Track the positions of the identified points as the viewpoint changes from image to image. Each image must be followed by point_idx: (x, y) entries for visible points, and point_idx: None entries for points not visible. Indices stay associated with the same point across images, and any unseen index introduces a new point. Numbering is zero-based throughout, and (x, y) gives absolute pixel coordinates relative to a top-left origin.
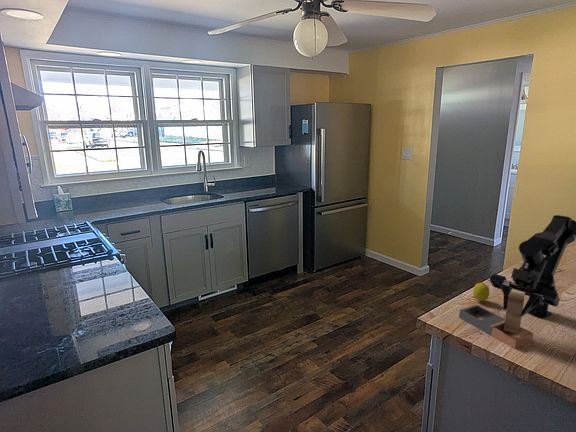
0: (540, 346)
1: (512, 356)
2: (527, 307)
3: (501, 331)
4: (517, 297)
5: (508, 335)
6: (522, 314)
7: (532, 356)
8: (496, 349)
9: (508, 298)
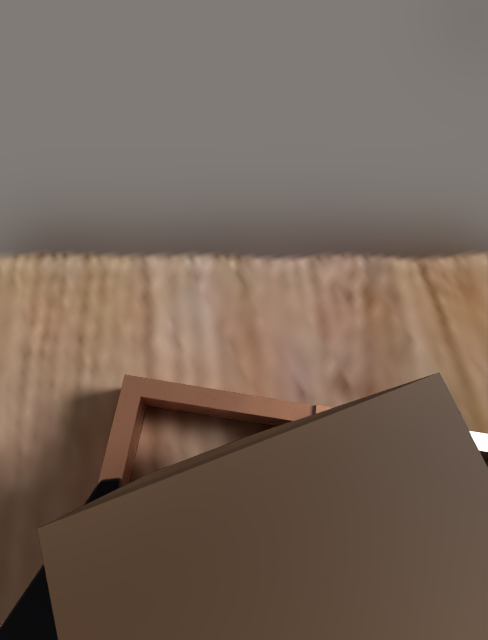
0: (14, 587)
1: (110, 302)
2: (18, 624)
3: (249, 410)
4: (254, 534)
5: (190, 397)
6: (99, 483)
7: (21, 398)
8: (200, 298)
9: (394, 387)
